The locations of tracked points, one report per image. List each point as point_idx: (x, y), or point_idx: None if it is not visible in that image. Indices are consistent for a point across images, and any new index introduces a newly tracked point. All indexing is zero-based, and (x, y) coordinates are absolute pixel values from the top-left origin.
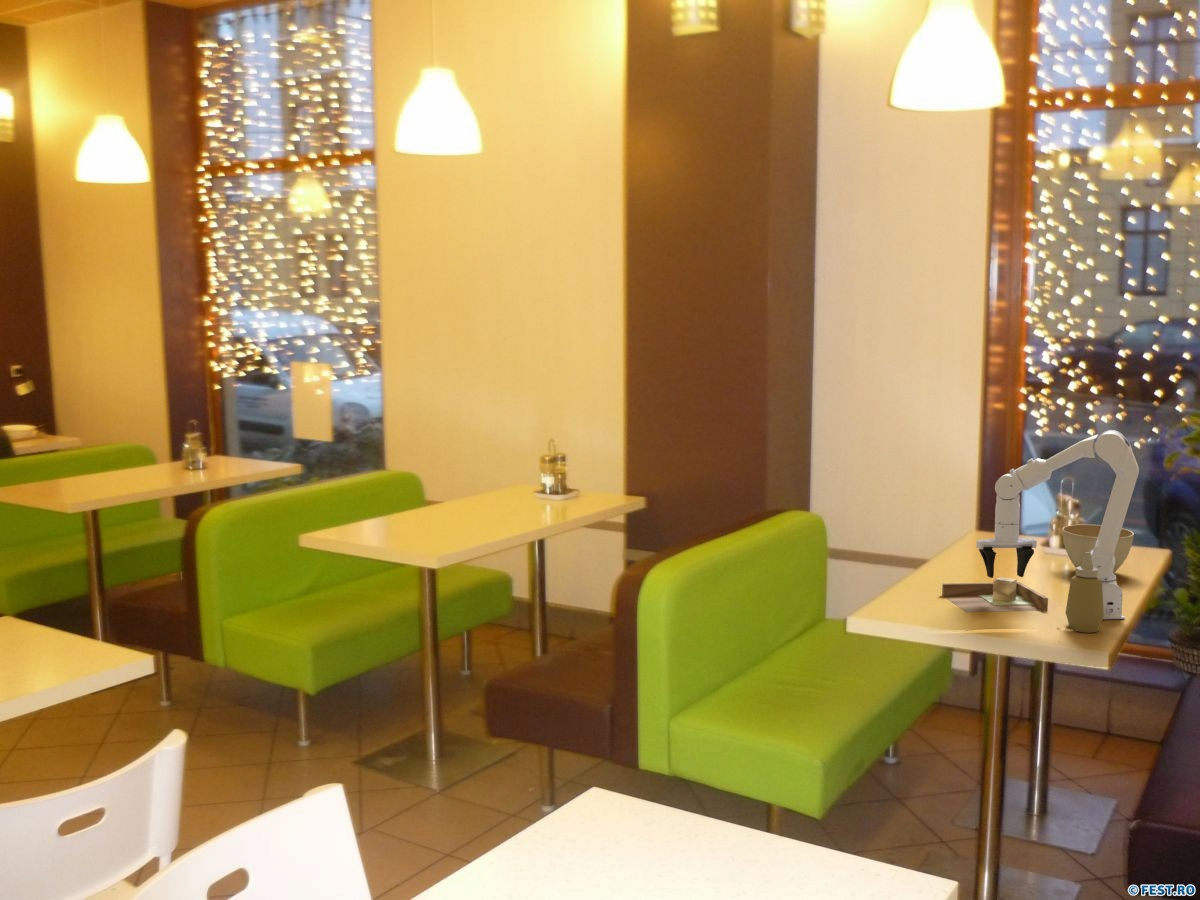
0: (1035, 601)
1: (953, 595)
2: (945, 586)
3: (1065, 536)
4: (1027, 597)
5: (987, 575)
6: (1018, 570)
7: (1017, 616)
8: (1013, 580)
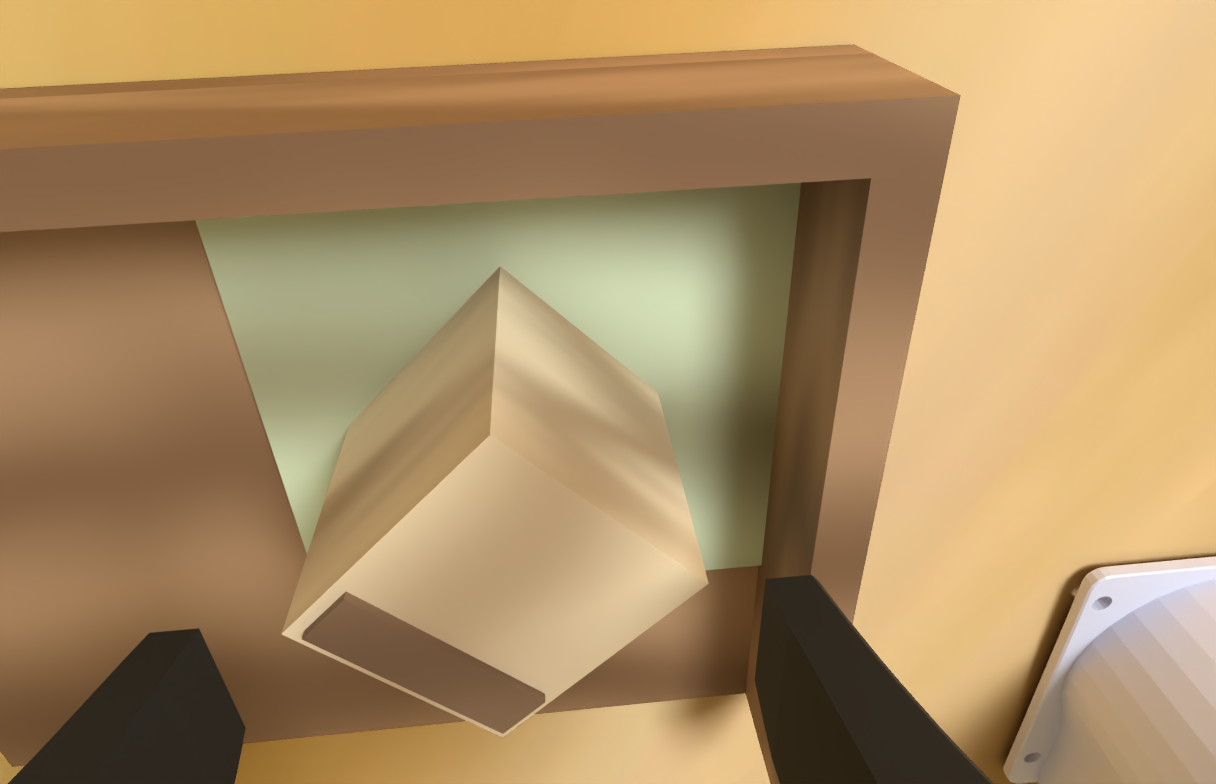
0: None
1: None
2: None
3: None
4: (785, 449)
5: (139, 653)
6: (794, 694)
7: (486, 732)
8: (626, 631)
